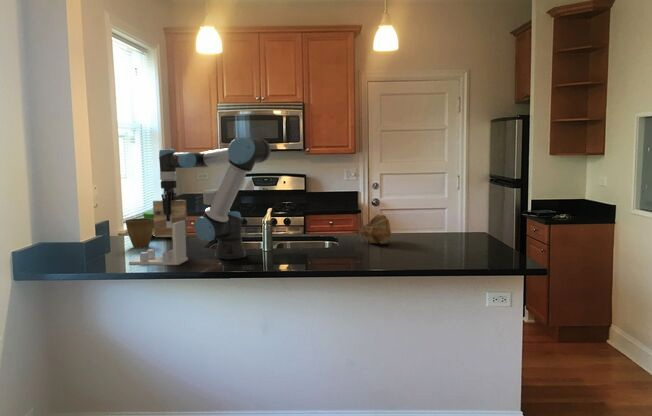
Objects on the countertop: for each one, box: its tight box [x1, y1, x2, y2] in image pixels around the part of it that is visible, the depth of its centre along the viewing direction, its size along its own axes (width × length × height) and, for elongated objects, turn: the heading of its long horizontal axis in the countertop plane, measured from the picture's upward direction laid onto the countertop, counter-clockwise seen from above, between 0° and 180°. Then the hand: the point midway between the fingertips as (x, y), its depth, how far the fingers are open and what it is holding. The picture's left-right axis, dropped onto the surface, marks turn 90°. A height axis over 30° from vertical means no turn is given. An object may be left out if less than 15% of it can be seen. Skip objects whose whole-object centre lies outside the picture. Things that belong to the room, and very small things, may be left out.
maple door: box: [152, 199, 189, 238], centre depth 266 cm, size 4×16×18 cm, turn 83°
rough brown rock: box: [359, 214, 392, 245], centre depth 301 cm, size 23×17×15 cm
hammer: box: [202, 188, 219, 206], centre depth 317 cm, size 15×8×30 cm, turn 172°
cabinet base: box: [128, 220, 189, 266], centre depth 253 cm, size 12×24×19 cm, turn 83°
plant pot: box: [125, 217, 154, 249], centre depth 293 cm, size 15×15×16 cm
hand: (170, 227), depth 267 cm, fingers closed on maple door, 3 cm apart
